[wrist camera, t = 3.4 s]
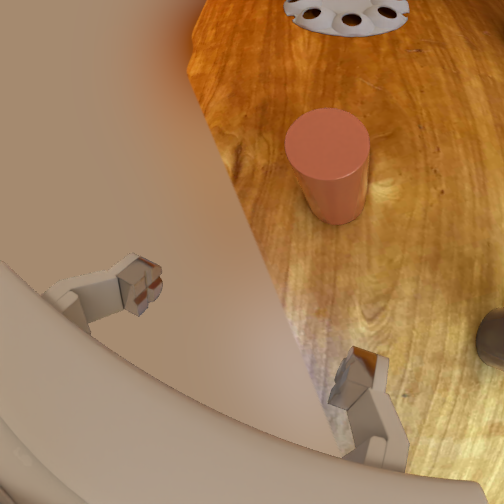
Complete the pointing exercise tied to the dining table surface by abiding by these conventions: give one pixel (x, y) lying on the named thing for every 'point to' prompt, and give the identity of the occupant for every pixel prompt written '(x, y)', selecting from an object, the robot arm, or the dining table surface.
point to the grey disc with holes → (348, 3)
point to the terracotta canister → (330, 163)
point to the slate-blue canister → (492, 339)
